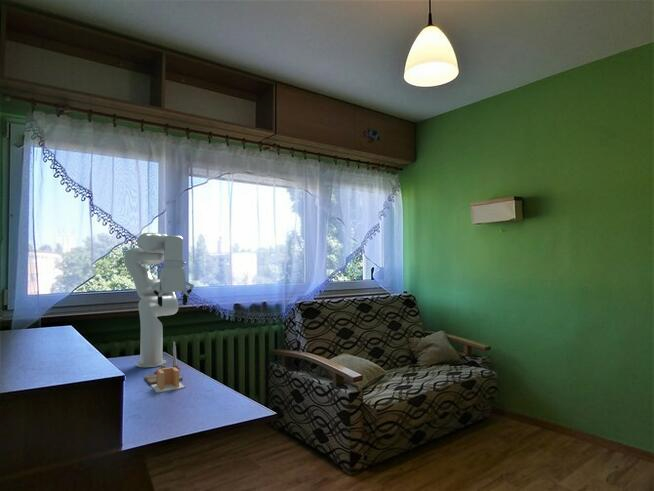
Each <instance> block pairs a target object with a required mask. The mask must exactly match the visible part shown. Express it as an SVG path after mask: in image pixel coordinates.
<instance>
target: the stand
mask: <svg viewBox="0 0 654 491" xmlns="http://www.w3.org/2000/svg"><path fill="white" fill-rule="evenodd" d="M163 368H167V365H166V364H164V365H161V366H160V369H163ZM144 380H146V382H147V383H148V384H149V386H151V385H154V384H157V374H156V373H154V374H147V375H144ZM183 380H184V379H183V377H182V376H181V375H180V374H179V382H180V381H183Z"/></svg>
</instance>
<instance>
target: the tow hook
mask: <svg viewBox="0 0 654 491" xmlns="http://www.w3.org/2000/svg"><path fill="white" fill-rule="evenodd" d="M172 345H173V346H172V353H173V354H172V356H173V358H172V366H171V367H175V368H177V369H178V370H179V371H180V369H181V367H180V366H179V365H178V359H177V346H176V342H175V341H172ZM166 368H170V367H168V366H166ZM154 372H155V373H154V374H157V369H156V370H155V371H154Z"/></svg>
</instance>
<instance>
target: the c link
mask: <svg viewBox="0 0 654 491" xmlns="http://www.w3.org/2000/svg"><path fill="white" fill-rule="evenodd" d="M156 370H157V386H158V387H159V388H160V390H162V389H164V385H167V384H173V385H174V386H175V387H179V382H180V381H179V375H180V369H179V370H178V369H177V368H175V367H172V366H171V367H170V368H167V367H166V368H163V369H161V368H158V369H156Z"/></svg>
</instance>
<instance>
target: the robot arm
mask: <svg viewBox="0 0 654 491" xmlns="http://www.w3.org/2000/svg"><path fill="white" fill-rule="evenodd" d="M136 244H137V246H138V247H132V248H129V249H127V250H126V251H125V252H124V265H125V268H126V270H127V271H128V274H130V276H131V277H132V279H133V283H134V286H135V290H136V293H137V295H138V297H139V298H140V300H139V302H138V306H137V307H138V313H139V321H140V345H139V346H140V353H139V354H140V355H139V356H140V357H139V358H140V359H139V360H140V361H138V362H136V367H138V368H147V369H148V368H156V367H161V365H166V363H167V360H165V359H163V356H164V355H163V354H164V353H163V351H164V350H163V346H164V345H163V342H164V341H163V338H164V337H163V334H164V333H163V332H164V330H163V328H164V327H163V323H162V321H160V319H158V317H163V316H172V315H175V314H177V312H178V311H179V308H180V307H179V306H180V305H179V301H178V297H177V295H176V293H177V292H178V293H179V292H181V293H182V305H183V306H187V303H188V296H189V295H190V293H191V292H192V291H193V289H194V287H195V285H194V284H192V283H190V282H188V281H187V278H186V270H185V267H184V266H187V261H184V260H183V258H184V238H183V237H182V236H181V235H168V234H166V233H164V232H163V233H162V232H161V233H160V232H143V233H141V234H140V235H139V236H138V237H137V238H136ZM161 263H163V267H162V268H161V269H160V276H159V278H153V276H152V273H151V271H150V270H149V269H148V268H146V267H145V265H148V266H149V265H151V266H152V265H153V266H154V265H160V264H161ZM187 286H188V287H189V288H188V289H187ZM186 289H187V290H186Z"/></svg>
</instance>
